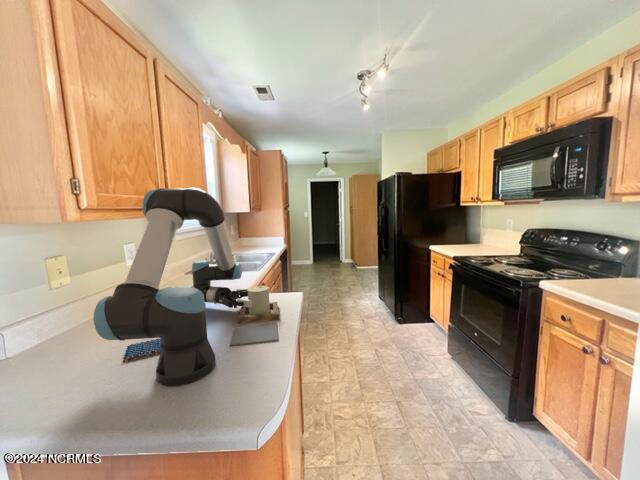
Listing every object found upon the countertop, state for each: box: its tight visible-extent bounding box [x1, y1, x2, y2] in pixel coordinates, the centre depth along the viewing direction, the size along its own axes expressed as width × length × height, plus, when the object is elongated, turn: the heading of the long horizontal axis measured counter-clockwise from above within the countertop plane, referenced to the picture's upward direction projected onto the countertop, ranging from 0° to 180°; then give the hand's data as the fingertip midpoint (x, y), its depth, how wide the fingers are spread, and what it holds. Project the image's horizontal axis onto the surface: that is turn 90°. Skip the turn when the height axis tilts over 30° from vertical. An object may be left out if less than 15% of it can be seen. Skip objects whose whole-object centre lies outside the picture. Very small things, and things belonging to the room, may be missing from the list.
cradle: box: [237, 301, 280, 324], centre depth 117 cm, size 16×16×2 cm
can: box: [246, 285, 271, 315], centre depth 116 cm, size 9×9×12 cm
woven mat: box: [122, 338, 161, 363], centre depth 88 cm, size 10×11×2 cm
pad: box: [229, 322, 279, 348], centre depth 97 cm, size 16×14×1 cm
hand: (260, 298), depth 116 cm, fingers open, 13 cm apart
